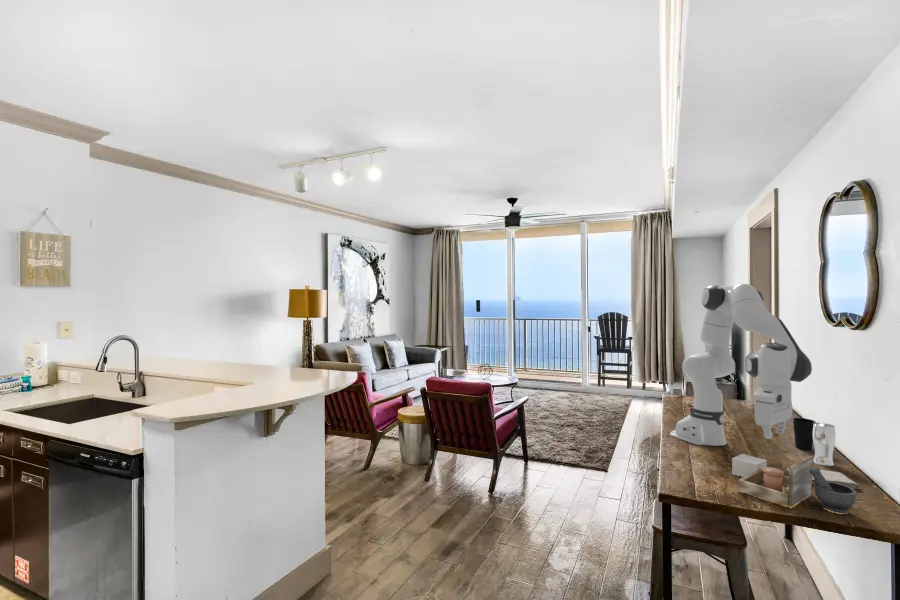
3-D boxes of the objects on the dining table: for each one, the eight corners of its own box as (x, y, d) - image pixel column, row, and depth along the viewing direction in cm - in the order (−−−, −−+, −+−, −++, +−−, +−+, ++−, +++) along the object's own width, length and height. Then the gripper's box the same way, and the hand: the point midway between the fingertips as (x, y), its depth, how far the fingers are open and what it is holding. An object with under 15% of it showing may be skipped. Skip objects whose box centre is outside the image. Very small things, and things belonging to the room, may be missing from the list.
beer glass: (826, 467, 174) (826, 427, 174) (807, 461, 181) (808, 423, 181) (839, 465, 176) (840, 426, 176) (820, 459, 183) (821, 421, 183)
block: (732, 474, 167) (732, 458, 167) (742, 469, 172) (742, 453, 172) (756, 481, 160) (757, 464, 160) (766, 476, 165) (766, 460, 165)
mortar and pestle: (852, 508, 141) (853, 469, 141) (859, 521, 133) (860, 479, 133) (806, 499, 147) (807, 462, 147) (810, 511, 139) (811, 471, 139)
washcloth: (783, 472, 171) (783, 463, 171) (842, 478, 165) (842, 469, 165) (796, 484, 160) (797, 475, 160) (860, 492, 154) (860, 482, 154)
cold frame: (737, 492, 152) (738, 453, 152) (759, 480, 162) (760, 443, 162) (791, 509, 140) (792, 467, 140) (811, 495, 150) (812, 456, 150)
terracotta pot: (759, 490, 152) (759, 469, 152) (766, 486, 155) (767, 465, 155) (779, 496, 147) (779, 474, 147) (786, 492, 151) (786, 471, 151)
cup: (819, 452, 192) (819, 423, 192) (798, 450, 193) (798, 422, 193) (808, 446, 199) (809, 418, 199) (788, 444, 201) (789, 417, 201)
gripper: (776, 388, 159) (776, 428, 160) (750, 395, 148) (750, 438, 148) (798, 391, 154) (797, 432, 154) (773, 398, 142) (772, 443, 143)
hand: (774, 435), depth 151 cm, fingers open, 8 cm apart
